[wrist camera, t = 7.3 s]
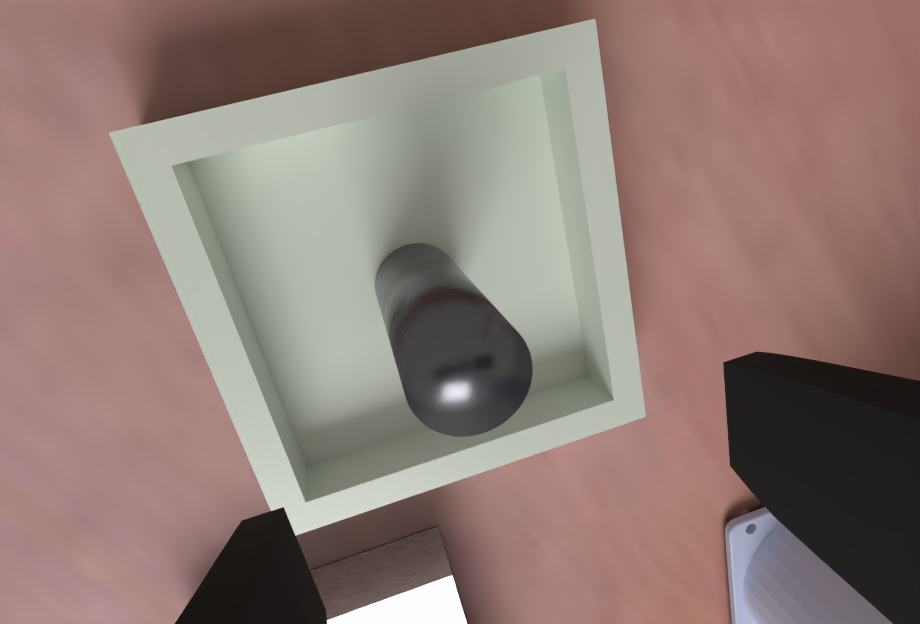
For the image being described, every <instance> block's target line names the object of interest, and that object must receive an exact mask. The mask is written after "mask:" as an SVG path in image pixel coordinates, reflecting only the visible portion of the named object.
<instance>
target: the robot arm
mask: <svg viewBox="0 0 920 624" xmlns="http://www.w3.org/2000/svg"><path fill="white" fill-rule="evenodd" d="M723 364H724V380H725V395H726V410H727V425H728V440H729V456H730V466H731V468H732V469H733V470H734V471H735V472H736V474H737V475H738V476H739V477H740V478H741V480H742V481H743V482H744V483H745V484H746V486H747V487H748V488H749V489H750V490H751V492H752V493H753V494H754V495H755V496H756V497H757V498H758V499H759V501H760V502H761V503H762V504H763V505H764V506H765V507H763V508H760V509H758V510H755V511H752V512H750V513H747V514H744V515H742V516H739V517H736V518H734V519H732V520H730V521H729V522H728V523H727V525H726V527H725V540H726V553H727V567H728V580H729V594H730V607H731V620H732V624H920V381H917V380H912V379H907V378H902V377H897V376H892V375H887V374H881V373H876V372H871V371H866V370H861V369H856V368H851V367H846V366H841V365H836V364H831V363H826V362H821V361H816V360H810V359H805V358H799V357H794V356H788V355H781V354H774V353H765V352H754V353H751V354H748V355H745V356H742V357H739V358H736V359H733V360H730V361H727V362H724V363H723ZM175 624H327V615H326V608H325V606H324V604H323V601H322V599H321V596H320V594H319V592H318V589H317V587H316V584H315V582H314V579H313V577H312V575H311V572H310V570H309V567H308V565H307V562H306V560H305V558H304V555H303V553H302V550H301V548H300V545H299V543H298V541H297V538H296V536H295V533H294V531H293V529H292V526H291V524H290V521H289V519H288V516H287V514H286V512H285V509H284V507H282V508H279V509H276V510H273V511H270V512H267V513H264V514H261V515H258V516H255V517H252V518H249V519H246V520H242V521H241V523H240V524H239V526H238V527H237V529H236V530H235V532H234V533H233V535H232V536H231V538H230V539H229V541H228V542H227V544H226V545H225V547H224V549H223V550H222V552H221V553H220V555H219V556H218V558H217V560H216V561H215V563H214V564H213V566H212V567H211V569H210V571H209V572H208V574H207V575H206V577H205V578H204V580H203V582H202V583H201V585H200V586H199V588H198V589H197V591H196V592H195V594H194V595H193V597H192V598H191V600H190V602H189V603H188V605H187V606H186V608H185V609H184V611H183V612H182V614H181V615H180V617H179V618H178V620H177V621H176V623H175Z"/></svg>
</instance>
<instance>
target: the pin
mask: <svg viewBox="0 0 920 624" xmlns="http://www.w3.org/2000/svg"><path fill="white" fill-rule="evenodd" d="M375 292H376V296H377V300H378V303H379V307H380V310H381V314H382V317H383V321H384V324H385V328H386V331H387V334H388V338H389V341H390V345H391V348H392V352H393V355H394V359H395V362H396V366H397V369H398V373H399V376H400V380H401V383H402V387H403V390H404V394H405V397H406V401H407V403H408V405H409V407H410V409H411V411H412V412H413V414H414V415H415V416H416V417H417V418H418V420H419V421H421V422H422V423H423V424H424V425H425V426H427V427H429V428H430V429H432V430H434V431H436V432H438V433H441V434H445V435H449V436H456V437H466V436H474V435H479V434H482V433H485V432H488V431H490V430H492V429H495V428H496V427H498V426H500V425H501V424H503V423H504V422H505V421H507V420H508V419H509V418H510V417H511V416H512V415H513V414H514V413H515V412H516V411H517V410H518V409H519V408H520V406H521V405H522V403H523V402H524V400H525V398H526V396H527V394H528V391H529V388H530V386H531V381H532V374H533V365H532V358H531V354H530V351H529V348H528V346H527V344H526V342H525V340H524V339H523V338H522V336H521V335H520V334H519V333H518V331H517V330H516V329H515V328H514V327H513V326H512V325H511V324H510V323H509V322H508V321H507V319H506V318H505V317H504V316H503V315H502V314H501V313H500V312H499V311H498V310H497V309H496V307H495V306H494V305H493V304H492V303H491V302H490V301H489V300H488V299H487V298H486V297H485V295H484V294H483V293H482V292H481V291H480V290H479V289H478V288H477V287H476V286H475V285H474V283H473V282H472V281H471V280H470V279H469V278H468V277H467V276H466V275H465V274H464V273H463V271H462V270H461V269H460V268H459V267H458V266H457V265H456V264H455V263H454V262H453V261H452V259H451V258H450V257H449V256H448V255H447V254H446V253H445V252H443V251H442V250H441V249H439V248H437V247H435V246H432V245H429V244H424V243H413V244H408V245H404V246H402V247H399V248H397V249H396V250H394V251H393V252H391V253H390V254H389V255H388V256H387V257H386V258H385V259H384V260H383V262H382V263H381V265H380V267H379V269H378V271H377V275H376V279H375Z"/></svg>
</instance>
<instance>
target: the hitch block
mask: <svg viewBox="0 0 920 624" xmlns="http://www.w3.org/2000/svg"><path fill="white" fill-rule="evenodd" d="M310 572H311V575H312V577H313V579H314V582H315V584H316V587H317V589H318V592H319V594H320V596H321V599H322V601H323V604H324V606H325V608H326V615H327V624H467V621H466V617H465V614H464V611H463V607H462V604H461V601H460V597H459V594H458V591H457V587H456V584H455V581H454V577H453V574H452V571H451V567H450V564H449V561H448V557H447V554H446V551H445V548H444V544H443V541H442V538H441V534H440V531H439V528H438V526H437V527H435V528H432V529H429V530H426V531H423V532H420V533H417V534H415V535H412V536H409V537H406V538H403V539H400V540H397V541H394V542H392V543H389V544H386V545H383V546H380V547H377V548H374V549H372V550H369V551H366V552H363V553H360V554H357V555H354V556H351V557H349V558H346V559H343V560H340V561H337V562H334V563H331V564H329V565H326V566H323V567H320V568H317V569H314V570H311V571H310Z"/></svg>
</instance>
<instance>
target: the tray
mask: <svg viewBox="0 0 920 624" xmlns="http://www.w3.org/2000/svg"><path fill="white" fill-rule="evenodd" d="M109 134H110V137H111V139H112V141H113V144H114V146H115V148H116V151H117V153H118V155H119V158H120V160H121V162H122V165H123V167H124V169H125V172H126V174H127V176H128V179H129V181H130V183H131V186H132V188H133V190H134V193H135V195H136V197H137V200H138V202H139V204H140V207H141V209H142V211H143V214H144V216H145V218H146V221H147V223H148V225H149V228H150V230H151V232H152V235H153V237H154V239H155V242H156V244H157V246H158V249H159V251H160V253H161V256H162V258H163V260H164V263H165V265H166V267H167V270H168V272H169V274H170V277H171V279H172V281H173V284H174V286H175V288H176V291H177V293H178V295H179V298H180V300H181V302H182V305H183V307H184V309H185V312H186V314H187V316H188V319H189V321H190V323H191V326H192V328H193V330H194V333H195V335H196V337H197V340H198V342H199V344H200V347H201V349H202V351H203V354H204V356H205V358H206V361H207V363H208V365H209V368H210V370H211V372H212V375H213V377H214V379H215V382H216V384H217V386H218V389H219V391H220V393H221V396H222V398H223V400H224V403H225V405H226V407H227V410H228V412H229V414H230V417H231V419H232V421H233V424H234V426H235V428H236V431H237V433H238V435H239V438H240V440H241V442H242V445H243V447H244V449H245V452H246V454H247V456H248V459H249V461H250V463H251V466H252V468H253V470H254V473H255V475H256V477H257V480H258V482H259V484H260V487H261V489H262V491H263V494H264V496H265V498H266V501H267V503H268V505H269V508H270V510H271V511H273V510H276V509H279V508H282V507H284V509H285V512H286V514H287V516H288V519H289V521H290V524H291V526H292V529H293V531H294V533H295V536H296V535H299V534H302V533H305V532H308V531H311V530H314V529H317V528H320V527H323V526H326V525H328V524H331V523H334V522H337V521H340V520H343V519H346V518H349V517H352V516H355V515H358V514H361V513H364V512H367V511H370V510H373V509H376V508H379V507H382V506H384V505H387V504H390V503H393V502H396V501H399V500H402V499H405V498H408V497H411V496H414V495H417V494H420V493H423V492H426V491H429V490H432V489H435V488H438V487H440V486H443V485H446V484H449V483H452V482H455V481H458V480H461V479H464V478H467V477H470V476H473V475H476V474H479V473H482V472H485V471H488V470H491V469H493V468H496V467H499V466H502V465H505V464H508V463H511V462H514V461H517V460H520V459H523V458H526V457H529V456H532V455H535V454H538V453H541V452H544V451H547V450H549V449H552V448H555V447H558V446H561V445H564V444H567V443H570V442H573V441H576V440H579V439H582V438H585V437H588V436H591V435H594V434H597V433H600V432H603V431H605V430H608V429H611V428H614V427H617V426H620V425H623V424H626V423H629V422H632V421H635V420H638V419H641V418H644V417H646V415H645V407H644V399H643V391H642V383H641V375H640V367H639V359H638V351H637V343H636V335H635V328H634V320H633V312H632V304H631V296H630V288H629V280H628V272H627V264H626V256H625V248H624V240H623V233H622V225H621V217H620V209H619V201H618V193H617V185H616V177H615V169H614V161H613V153H612V145H611V137H610V130H609V122H608V114H607V106H606V98H605V90H604V82H603V74H602V66H601V58H600V50H599V42H598V34H597V27H596V19H591V20H587V21H583V22H579V23H574V24H570V25H566V26H562V27H557V28H553V29H549V30H545V31H540V32H536V33H532V34H528V35H523V36H519V37H515V38H510V39H506V40H502V41H498V42H493V43H489V44H485V45H481V46H476V47H472V48H468V49H464V50H459V51H455V52H451V53H447V54H442V55H438V56H434V57H429V58H425V59H421V60H417V61H412V62H408V63H404V64H400V65H395V66H391V67H387V68H383V69H378V70H374V71H370V72H365V73H361V74H357V75H353V76H348V77H344V78H340V79H336V80H331V81H327V82H323V83H319V84H314V85H310V86H306V87H302V88H297V89H293V90H289V91H284V92H280V93H276V94H272V95H267V96H263V97H259V98H255V99H250V100H246V101H242V102H238V103H233V104H229V105H225V106H221V107H216V108H212V109H208V110H203V111H199V112H195V113H191V114H186V115H182V116H178V117H174V118H169V119H165V120H161V121H157V122H152V123H148V124H144V125H140V126H135V127H131V128H127V129H122V130H118V131H114V132H110V133H109ZM413 243H424V244H429V245H432V246H435V247H437V248H439V249H441V250H442V251H443V252H445V253H446V254H447V255H448V256H449V257H450V258H451V259H452V261H453V262H454V263H455V264H456V265H457V266H458V267H459V268H460V269H461V270H462V271H463V273H464V274H465V275H466V276H467V277H468V278H469V279H470V280H471V281H472V282H473V283H474V285H475V286H476V287H477V288H478V289H479V290H480V291H481V292H482V293H483V294H484V295H485V297H486V298H487V299H488V300H489V301H490V302H491V303H492V304H493V305H494V306H495V307H496V309H497V310H498V311H499V312H500V313H501V314H502V315H503V316H504V317H505V318H506V319H507V321H508V322H509V323H510V324H511V325H512V326H513V327H514V328H515V329H516V330H517V331H518V333H519V334H520V335H521V336H522V338H523V339H524V340H525V342H526V344H527V346H528V348H529V351H530V354H531V358H532V365H533V374H532V381H531V386H530V388H529V391H528V394H527V396H526V398H525V400H524V402H523V403H522V405H521V406H520V408H519V409H518V410H517V411H516V412H515V413H514V414H513V415H512V416H511V417H510V418H509V419H508V420H507V421H505V422H504V423H503V424H501V425H500V426H498V427H496V428H495V429H492V430H490V431H488V432H485V433H482V434H479V435H474V436H466V437H456V436H449V435H445V434H441V433H438V432H436V431H434V430H432V429H430V428H429V427H427V426H425V425H424V424H423V423H422V422H421V421H419V420H418V418H417V417H416V416H415V415H414V414H413V412H412V411H411V409H410V407H409V405H408V403H407V401H406V397H405V394H404V390H403V387H402V383H401V380H400V376H399V373H398V369H397V366H396V362H395V359H394V355H393V352H392V348H391V345H390V341H389V338H388V334H387V331H386V328H385V324H384V321H383V317H382V314H381V310H380V307H379V303H378V300H377V296H376V292H375V279H376V275H377V271H378V269H379V267H380V265H381V263H382V262H383V260H384V259H385V258H386V257H387V256H388V255H389V254H390V253H391V252H393V251H394V250H396V249H397V248H399V247H402V246H404V245H408V244H413Z"/></svg>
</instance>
